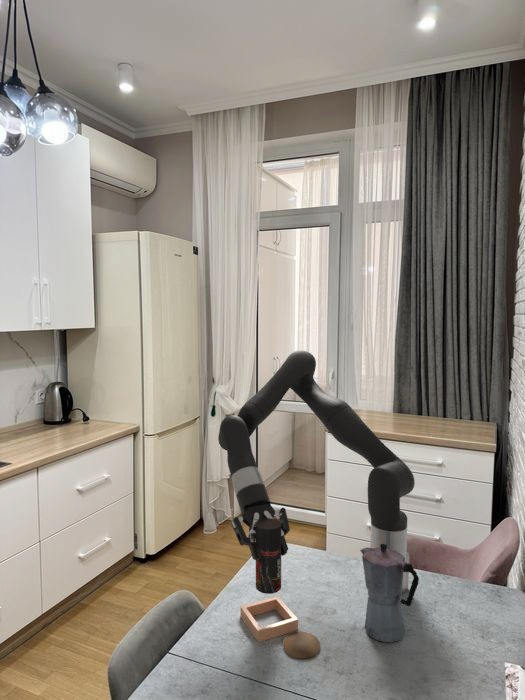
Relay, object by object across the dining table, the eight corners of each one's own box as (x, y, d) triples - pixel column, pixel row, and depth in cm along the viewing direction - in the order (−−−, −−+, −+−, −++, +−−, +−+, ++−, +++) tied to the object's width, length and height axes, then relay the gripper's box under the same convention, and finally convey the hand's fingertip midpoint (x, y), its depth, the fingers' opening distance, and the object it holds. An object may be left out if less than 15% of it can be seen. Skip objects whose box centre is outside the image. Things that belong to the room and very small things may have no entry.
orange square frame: (277, 605, 119) (277, 596, 118) (298, 629, 110) (298, 619, 109) (240, 616, 114) (240, 606, 114) (258, 642, 105) (258, 631, 105)
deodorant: (279, 595, 108) (279, 530, 107) (253, 592, 109) (253, 528, 108) (283, 580, 114) (283, 519, 113) (258, 578, 115) (258, 517, 114)
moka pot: (369, 607, 118) (371, 529, 117) (428, 638, 107) (431, 551, 106) (346, 625, 112) (348, 541, 110) (406, 659, 101) (410, 567, 99)
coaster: (307, 630, 110) (307, 627, 110) (327, 652, 102) (327, 649, 102) (276, 640, 106) (276, 637, 106) (294, 663, 99) (294, 661, 99)
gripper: (271, 491, 125) (293, 556, 115) (219, 501, 119) (238, 570, 109) (280, 478, 120) (305, 544, 110) (227, 487, 114) (247, 558, 104)
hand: (271, 557), depth 109 cm, fingers closed on deodorant, 6 cm apart
